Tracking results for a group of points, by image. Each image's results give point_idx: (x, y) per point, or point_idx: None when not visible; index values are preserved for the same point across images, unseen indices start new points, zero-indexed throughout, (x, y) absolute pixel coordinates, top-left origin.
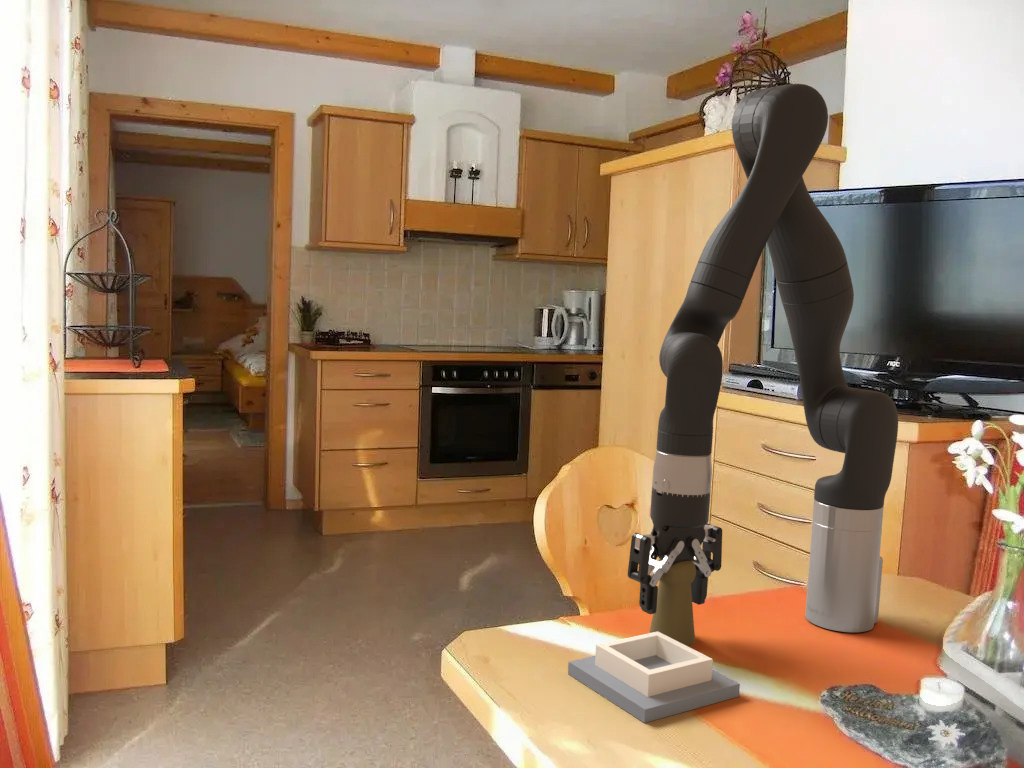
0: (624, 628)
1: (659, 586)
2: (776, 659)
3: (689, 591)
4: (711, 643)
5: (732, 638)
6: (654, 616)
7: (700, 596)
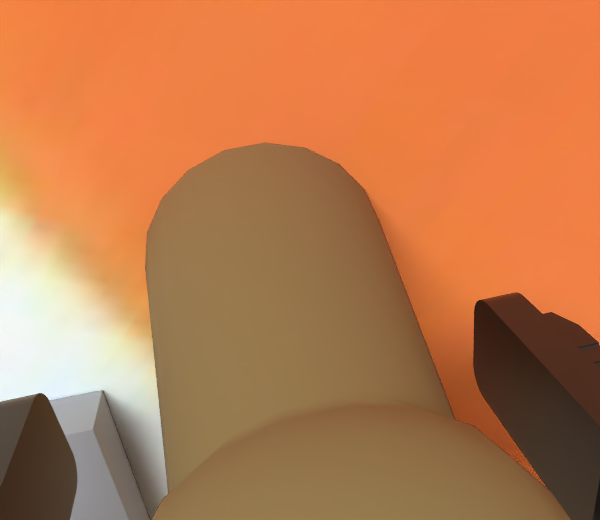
0: (59, 42)
1: (170, 469)
2: None
3: None
4: None
5: None
6: (153, 312)
7: (502, 416)
